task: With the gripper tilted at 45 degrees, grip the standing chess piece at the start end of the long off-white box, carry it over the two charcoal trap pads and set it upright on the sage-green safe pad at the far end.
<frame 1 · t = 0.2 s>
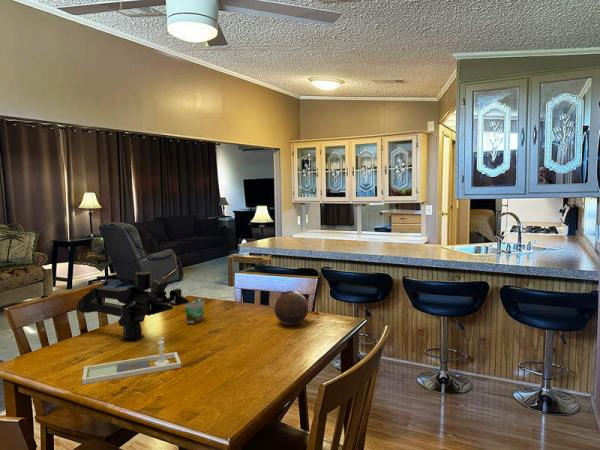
hand: (180, 304, 162), 17 cm above the table, tool horizontal, fingers open, 9 cm apart
safe pad: (103, 374, 140), resting in trap box
wooden sphere: (291, 324, 189), on the table
trap box: (133, 369, 143), on the table
chess piece: (161, 365, 147), resting in trap box
food container: (197, 322, 195), on the table
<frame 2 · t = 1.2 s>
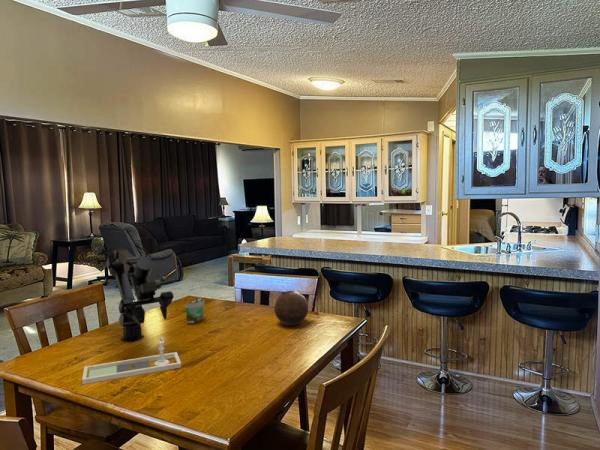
hand: (153, 321, 152), 13 cm above the table, tool tilted 45°, fingers open, 9 cm apart
nothing on the table moved.
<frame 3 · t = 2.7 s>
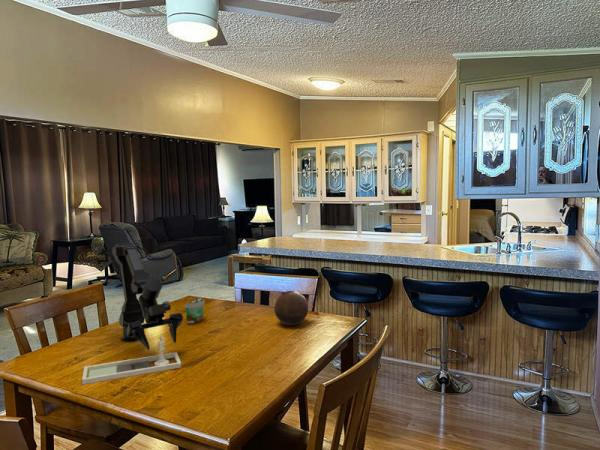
hand: (162, 345, 146), 7 cm above the table, tool tilted 45°, fingers open, 9 cm apart
nothing on the table moved.
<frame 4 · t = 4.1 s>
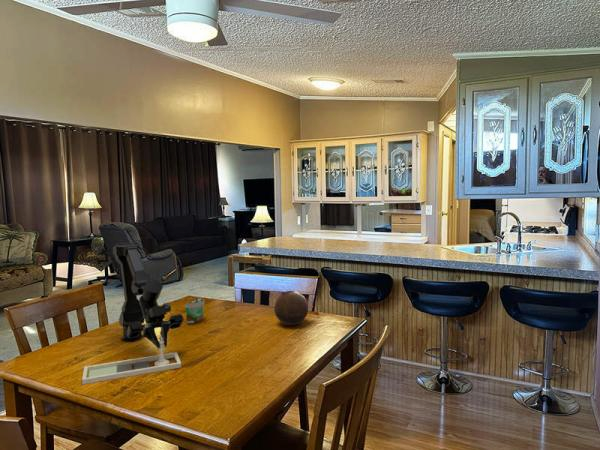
hand: (162, 347, 145), 7 cm above the table, tool tilted 45°, fingers closed on chess piece
chess piece: (161, 364, 147), resting in trap box, touching gripper
everything else where it was.
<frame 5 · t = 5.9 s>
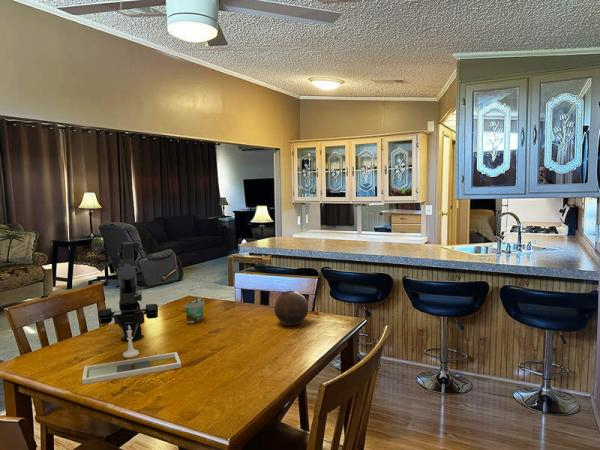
hand: (129, 336, 140), 12 cm above the table, tool tilted 45°, fingers closed on chess piece
chess piece: (131, 354, 142), point 5 cm above the table, touching gripper
everything else where it was.
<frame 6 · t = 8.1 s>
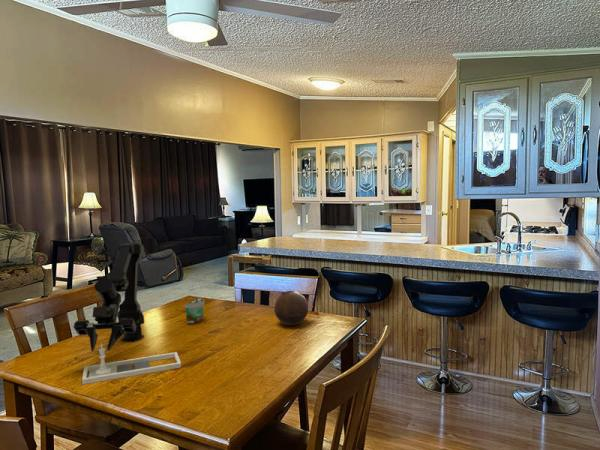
hand: (100, 350, 138), 9 cm above the table, tool tilted 45°, fingers open, 5 cm apart
chess piece: (103, 373, 140), resting on safe pad
everything else where it was.
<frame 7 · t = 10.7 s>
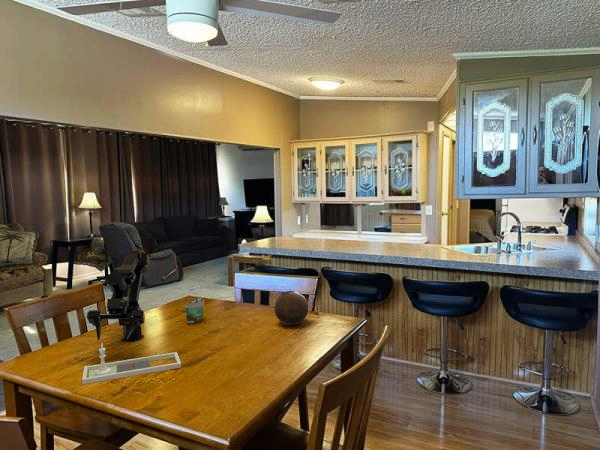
hand: (112, 339, 148), 9 cm above the table, tool tilted 45°, fingers open, 9 cm apart
nothing on the table moved.
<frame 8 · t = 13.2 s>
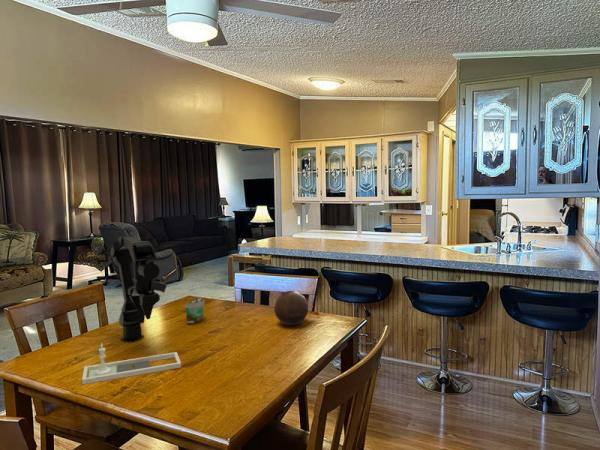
hand: (144, 316, 160), 13 cm above the table, tool pointing down, fingers open, 9 cm apart
nothing on the table moved.
at the end: chess piece 0.2 cm from the safe pad (horizontally); chess piece tilted 0°; the gripper is holding nothing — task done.
